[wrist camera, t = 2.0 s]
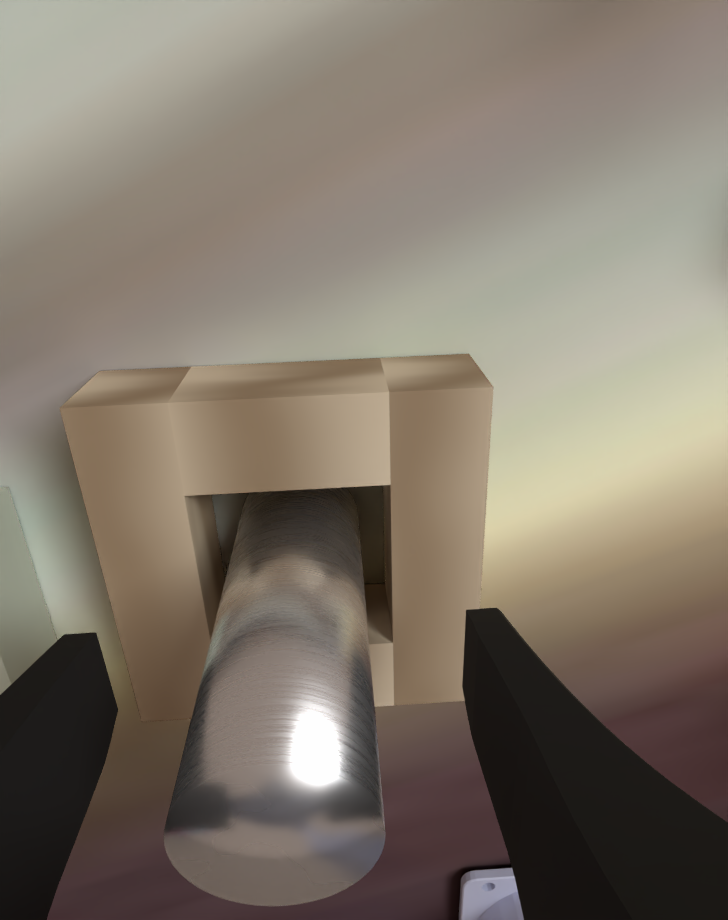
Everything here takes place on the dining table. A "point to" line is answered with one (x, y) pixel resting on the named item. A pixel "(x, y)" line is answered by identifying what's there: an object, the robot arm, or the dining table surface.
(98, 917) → the dining table surface
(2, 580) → the block
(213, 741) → the rod
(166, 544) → the socket block
